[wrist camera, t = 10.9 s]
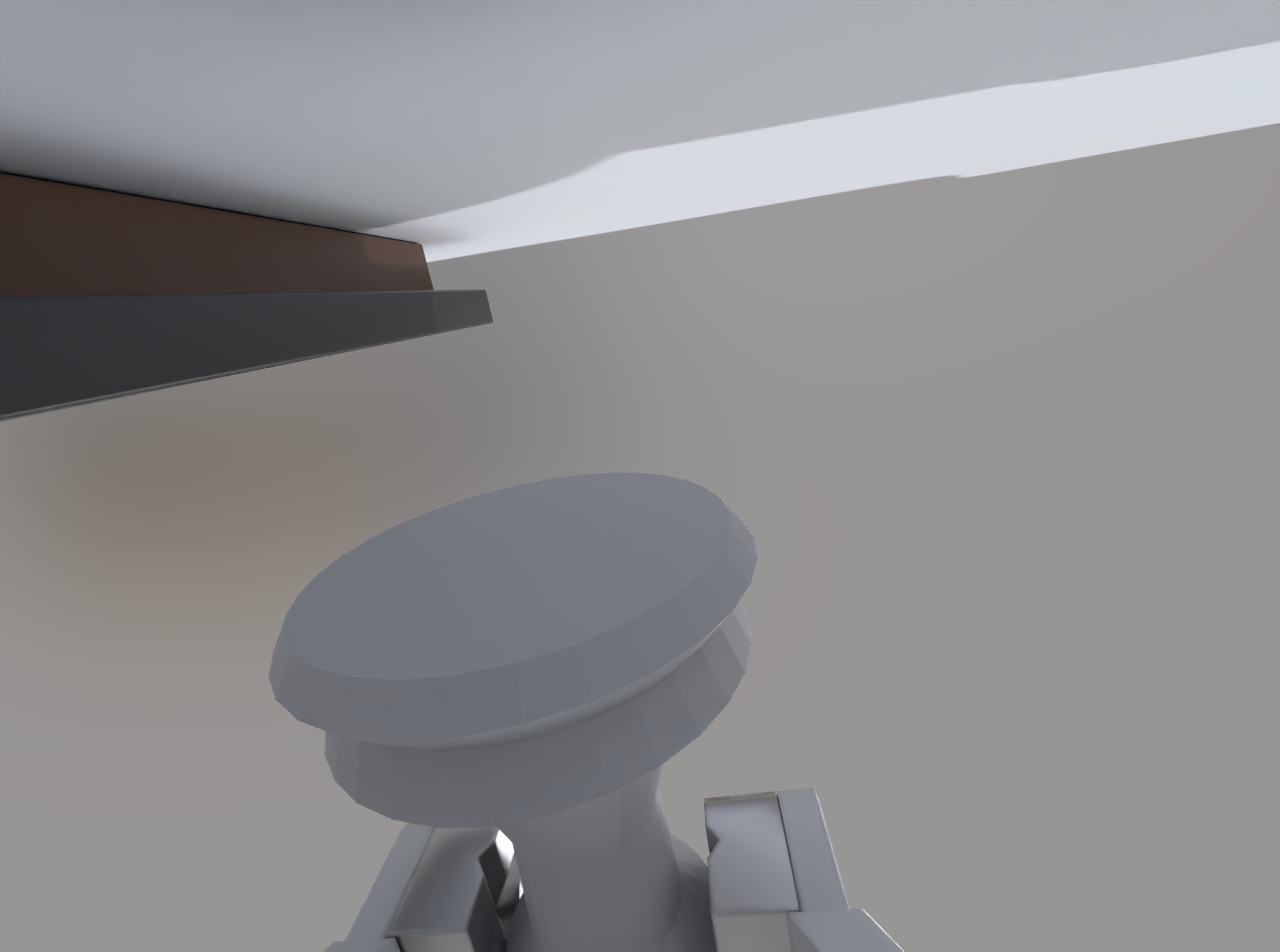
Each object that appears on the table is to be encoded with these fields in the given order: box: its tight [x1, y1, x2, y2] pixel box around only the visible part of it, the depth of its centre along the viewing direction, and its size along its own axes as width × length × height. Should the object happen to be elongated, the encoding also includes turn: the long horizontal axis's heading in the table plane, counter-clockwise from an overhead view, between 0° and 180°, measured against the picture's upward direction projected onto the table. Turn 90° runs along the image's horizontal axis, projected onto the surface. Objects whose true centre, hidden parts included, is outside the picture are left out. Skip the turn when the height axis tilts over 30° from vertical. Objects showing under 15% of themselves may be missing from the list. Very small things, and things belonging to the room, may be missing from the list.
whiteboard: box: [0, 173, 493, 422], centre depth 16 cm, size 16×21×3 cm
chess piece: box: [268, 472, 757, 952], centre depth 7 cm, size 5×5×8 cm
